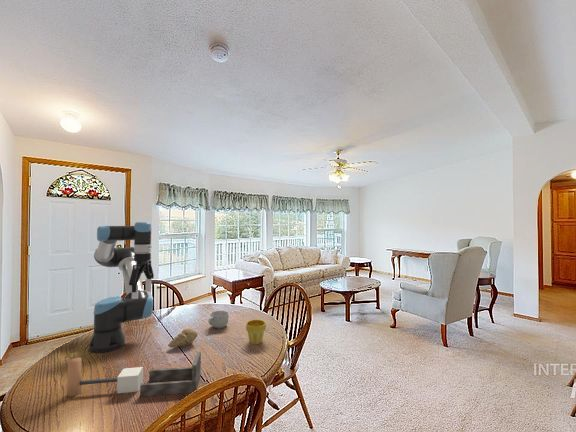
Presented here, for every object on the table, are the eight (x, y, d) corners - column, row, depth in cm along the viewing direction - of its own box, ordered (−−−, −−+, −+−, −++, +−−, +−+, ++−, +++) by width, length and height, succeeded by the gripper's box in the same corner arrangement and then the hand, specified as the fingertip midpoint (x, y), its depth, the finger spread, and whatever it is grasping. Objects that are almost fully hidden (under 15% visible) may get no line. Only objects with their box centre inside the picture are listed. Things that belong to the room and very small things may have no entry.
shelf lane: (140, 396, 101) (140, 368, 101) (150, 379, 112) (150, 354, 112) (195, 392, 104) (196, 365, 104) (200, 376, 114) (200, 351, 115)
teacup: (221, 321, 175) (221, 309, 175) (232, 326, 168) (232, 312, 168) (201, 328, 164) (202, 314, 164) (212, 333, 157) (213, 319, 157)
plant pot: (260, 347, 141) (260, 327, 141) (242, 344, 144) (242, 325, 144) (268, 339, 151) (268, 320, 151) (251, 336, 154) (251, 318, 154)
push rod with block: (63, 398, 99) (63, 365, 100) (72, 388, 105) (73, 356, 105) (137, 391, 104) (138, 359, 104) (142, 382, 110) (143, 351, 110)
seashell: (173, 354, 133) (173, 337, 133) (164, 348, 138) (165, 332, 138) (198, 344, 144) (198, 328, 144) (189, 339, 149) (190, 324, 149)
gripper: (137, 255, 129) (136, 302, 129) (160, 250, 154) (160, 288, 154) (120, 255, 129) (120, 302, 128) (146, 250, 154) (146, 288, 153)
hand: (142, 294), depth 141 cm, fingers open, 13 cm apart
